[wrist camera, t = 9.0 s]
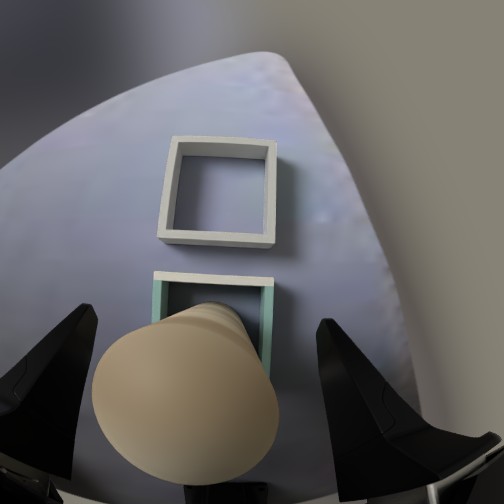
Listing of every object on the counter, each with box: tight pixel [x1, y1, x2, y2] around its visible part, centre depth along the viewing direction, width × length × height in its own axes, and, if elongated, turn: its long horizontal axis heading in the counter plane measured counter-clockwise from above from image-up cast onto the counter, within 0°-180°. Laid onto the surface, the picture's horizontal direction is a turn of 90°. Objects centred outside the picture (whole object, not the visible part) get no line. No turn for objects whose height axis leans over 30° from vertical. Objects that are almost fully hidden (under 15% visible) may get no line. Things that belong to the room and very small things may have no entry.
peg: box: [92, 301, 279, 485], centre depth 11 cm, size 4×4×12 cm
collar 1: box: [157, 136, 276, 249], centre depth 17 cm, size 7×7×2 cm
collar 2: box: [152, 271, 274, 379], centre depth 16 cm, size 7×7×2 cm
